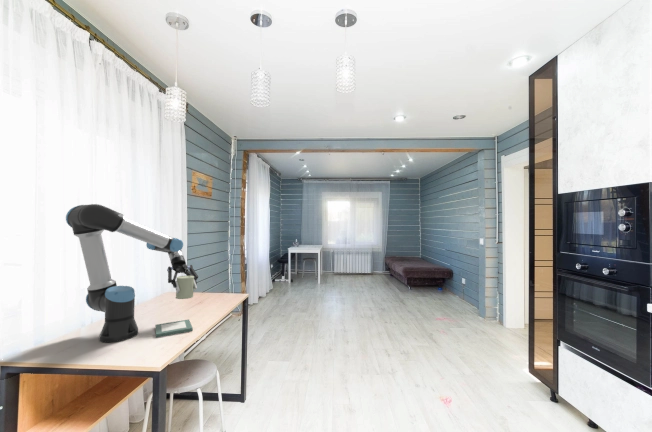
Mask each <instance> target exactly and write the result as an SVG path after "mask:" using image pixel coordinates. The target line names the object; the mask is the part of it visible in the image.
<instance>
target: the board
mask: <svg viewBox="0 0 652 432" xmlns="http://www.w3.org/2000/svg"><path fill="white" fill-rule="evenodd" d="M154 329H155V338H161V337H166V336H171V335H178V334H183V333H189V332H193V326H192V323H191V322H190V319H184V320H182V319H181V320H177V321H170V322H164V323H158V324H155V327H154Z"/></svg>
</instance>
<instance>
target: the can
mask: <svg viewBox="0 0 652 432" xmlns="http://www.w3.org/2000/svg"><path fill="white" fill-rule="evenodd" d="M176 281H177V282H178V286H179V289H180V291H179V293H177V292H175V299H177V300H186V299H192V298H194V276H187V275H178V276H177V277H176Z"/></svg>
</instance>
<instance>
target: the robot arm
mask: <svg viewBox="0 0 652 432" xmlns="http://www.w3.org/2000/svg"><path fill="white" fill-rule="evenodd" d="M65 221H66V224H67V225H68V226H70V228H71V229H72V234H73V236H75V237H77V238H78V240H79V244H80V248H81V252H82V256H83V260H84V264H85V268H86V272H87V277H88V281H89V285H88V286H87V294H86V296H85V304H86V305H87V306H88V307H89V308H90V309H92V310H94V311H96V312H103V313H104V323H103V327H102V329H101V331H100V334H99V341H100V342H102V343H115V342H116V343H117V342H121V341H125V340H129V339H132V338H135V337H136V336H138V334H139V327H138V325H137V322H136V319H135V302H136V301H135V300H136V298H135V297H136V294H135V292H136V291H135V288H134V287H132V286H130V285H118V284H117V281H116V280H114V279H113V278H112V275H111V270H110V266H109V263H108V258H107V257H108V256H107V253H106V250H105V246H104V241H103V236H102V234H103V232H104V231H109V232H110V233H115V232H117V233H120V234H123V235H125V236H128V237H130V238H133V239H136V240H139V241H140V242H144V243H146V245H145V246H146V249H148V250H151V251H157V252H162V253H166V254H167V255H168V258H169V260H170V264H171V266H168V267H167V269H166V270H167V276H168V277H167V283H168V284H171V285H172V286H173V288H174V289H175V291H176V292H177V293H179V291H180V289H179V286H178V282H177V277H178V274H184V275H185V276H194V288H193V292H194V291H197V289H198V286H197V284H198V283H197V282H198V281H197V280H198V279H199V275H198V273H197V272H196V271H195V269H194V268H193V265H192V264H190V265H188V264H187V262H186V259H185V256H184V253H183V251H182V249H183V247H184V242H183V240H182V239H181V238H178V237H177V238H176V237H172V236H169V235H167V234H166V233H165V234H164V233H162V232H159V231H157V230H155V229H152V228H150V227H148V226H146V225H143V224H140V223H139V222H136V221H133V220H132V219H129V218H127V217H125V214H123V213H120V212H118V211H117V210H114V209H112V208H110V207H107V206H104V205H102V204H97V203H95V204H93V203H91V204H80V205H77V206H73V207H72V208H70V209H69V210H68V211H67V212H66V215H65ZM173 271H174V275H173V274H172V273H173ZM172 276H173V277H172ZM176 292H175V293H176Z"/></svg>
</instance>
